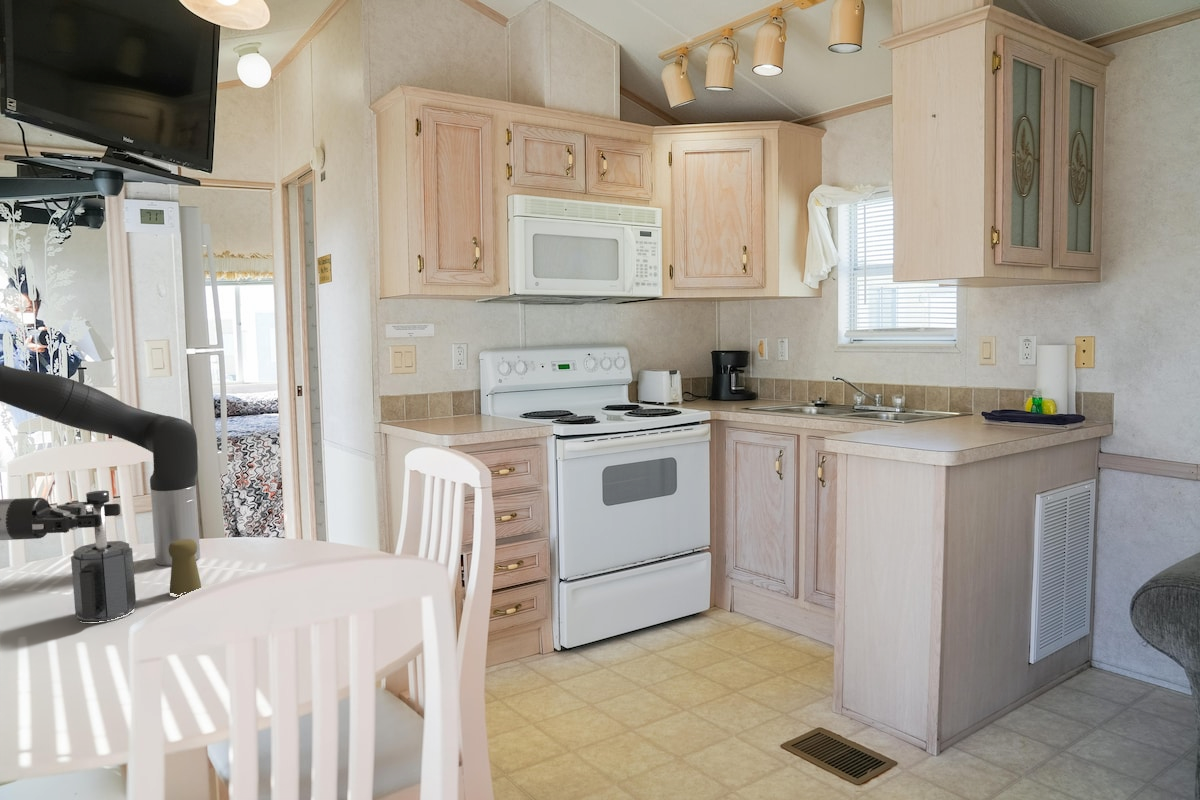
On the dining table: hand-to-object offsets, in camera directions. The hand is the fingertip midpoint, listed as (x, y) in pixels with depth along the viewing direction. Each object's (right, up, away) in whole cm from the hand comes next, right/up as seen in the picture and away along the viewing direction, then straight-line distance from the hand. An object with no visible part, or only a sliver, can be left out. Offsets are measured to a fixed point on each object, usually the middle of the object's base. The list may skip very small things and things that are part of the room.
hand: (110, 514), depth 154 cm
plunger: (-2, -17, +2) cm, 17 cm away
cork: (+7, -18, +13) cm, 24 cm away
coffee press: (-2, -19, 0) cm, 19 cm away
